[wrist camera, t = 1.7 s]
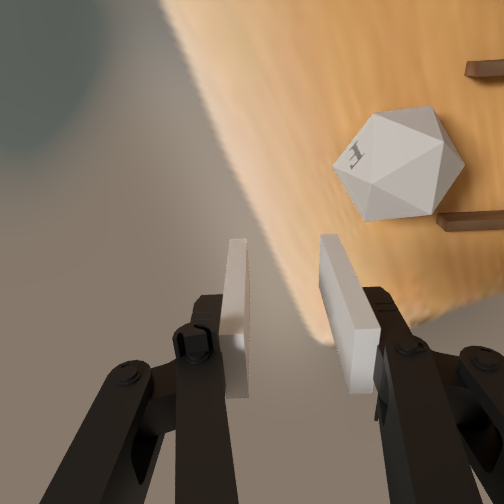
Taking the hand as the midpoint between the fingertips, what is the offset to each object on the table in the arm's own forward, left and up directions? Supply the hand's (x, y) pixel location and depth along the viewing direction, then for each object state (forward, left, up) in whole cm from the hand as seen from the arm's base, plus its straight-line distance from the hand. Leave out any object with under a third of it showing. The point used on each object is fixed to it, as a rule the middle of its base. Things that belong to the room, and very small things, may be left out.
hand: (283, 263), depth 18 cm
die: (0, +10, -19) cm, 21 cm away
